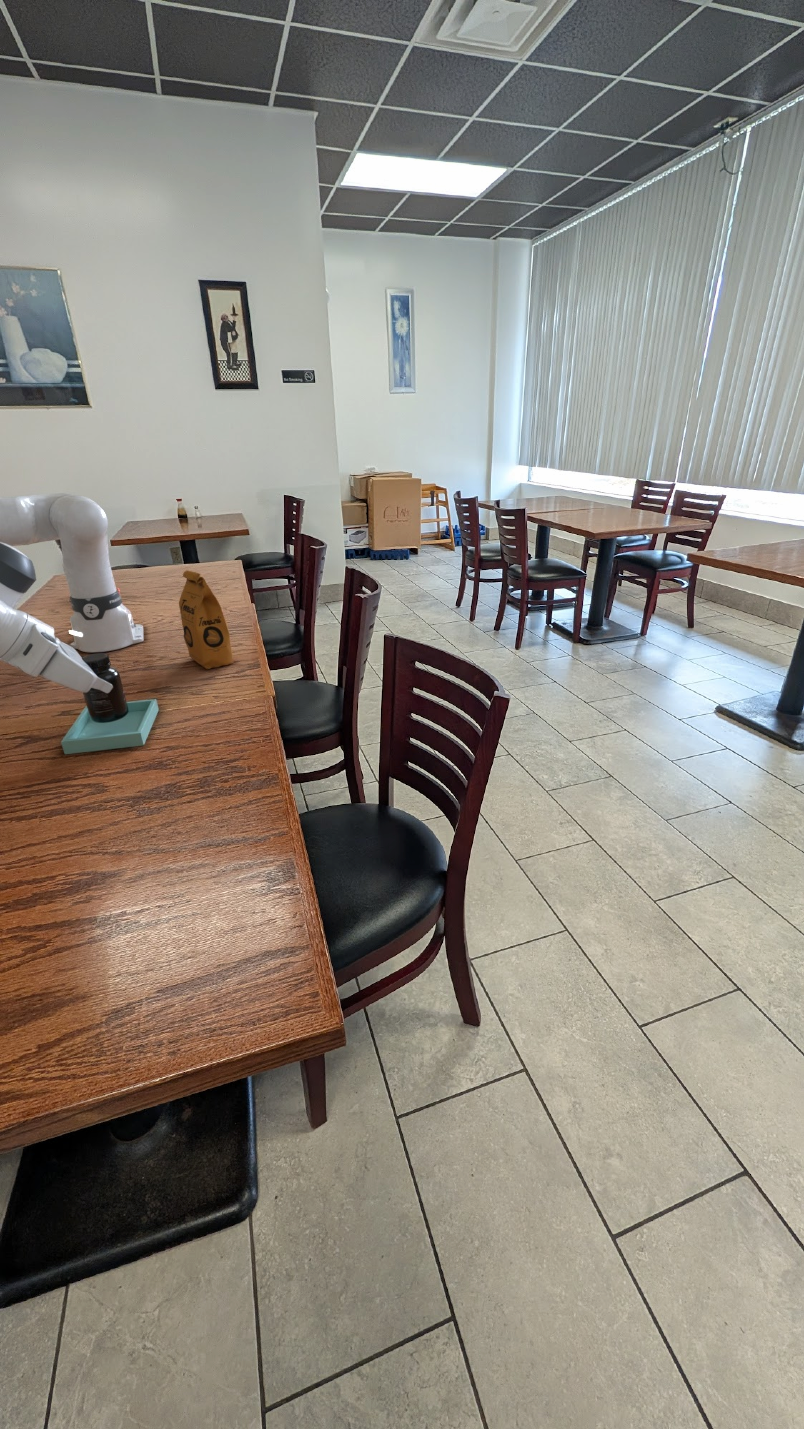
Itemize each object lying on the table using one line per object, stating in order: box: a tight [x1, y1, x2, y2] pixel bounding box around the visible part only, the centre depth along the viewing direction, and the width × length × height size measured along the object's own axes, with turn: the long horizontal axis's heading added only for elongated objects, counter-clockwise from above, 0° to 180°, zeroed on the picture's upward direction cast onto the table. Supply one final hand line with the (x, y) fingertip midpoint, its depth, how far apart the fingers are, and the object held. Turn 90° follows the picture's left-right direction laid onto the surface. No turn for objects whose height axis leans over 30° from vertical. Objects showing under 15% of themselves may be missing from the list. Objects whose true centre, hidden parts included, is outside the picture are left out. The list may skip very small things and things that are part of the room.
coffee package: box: [178, 569, 234, 670], centre depth 142 cm, size 10×12×22 cm
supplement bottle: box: [81, 652, 129, 723], centre depth 110 cm, size 7×7×12 cm
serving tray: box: [60, 698, 160, 755], centre depth 113 cm, size 16×14×3 cm
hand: (104, 682), depth 110 cm, fingers closed on supplement bottle, 7 cm apart
